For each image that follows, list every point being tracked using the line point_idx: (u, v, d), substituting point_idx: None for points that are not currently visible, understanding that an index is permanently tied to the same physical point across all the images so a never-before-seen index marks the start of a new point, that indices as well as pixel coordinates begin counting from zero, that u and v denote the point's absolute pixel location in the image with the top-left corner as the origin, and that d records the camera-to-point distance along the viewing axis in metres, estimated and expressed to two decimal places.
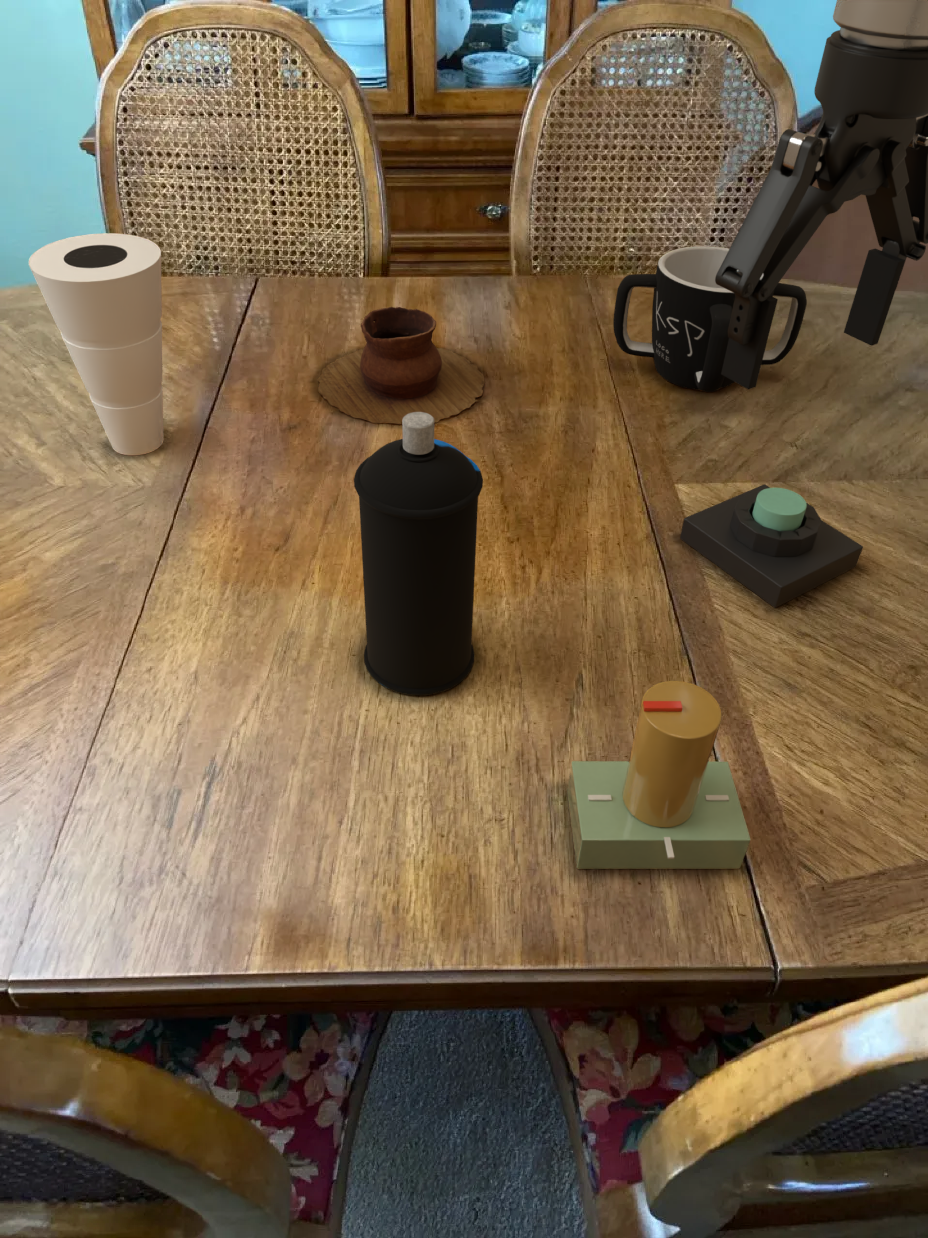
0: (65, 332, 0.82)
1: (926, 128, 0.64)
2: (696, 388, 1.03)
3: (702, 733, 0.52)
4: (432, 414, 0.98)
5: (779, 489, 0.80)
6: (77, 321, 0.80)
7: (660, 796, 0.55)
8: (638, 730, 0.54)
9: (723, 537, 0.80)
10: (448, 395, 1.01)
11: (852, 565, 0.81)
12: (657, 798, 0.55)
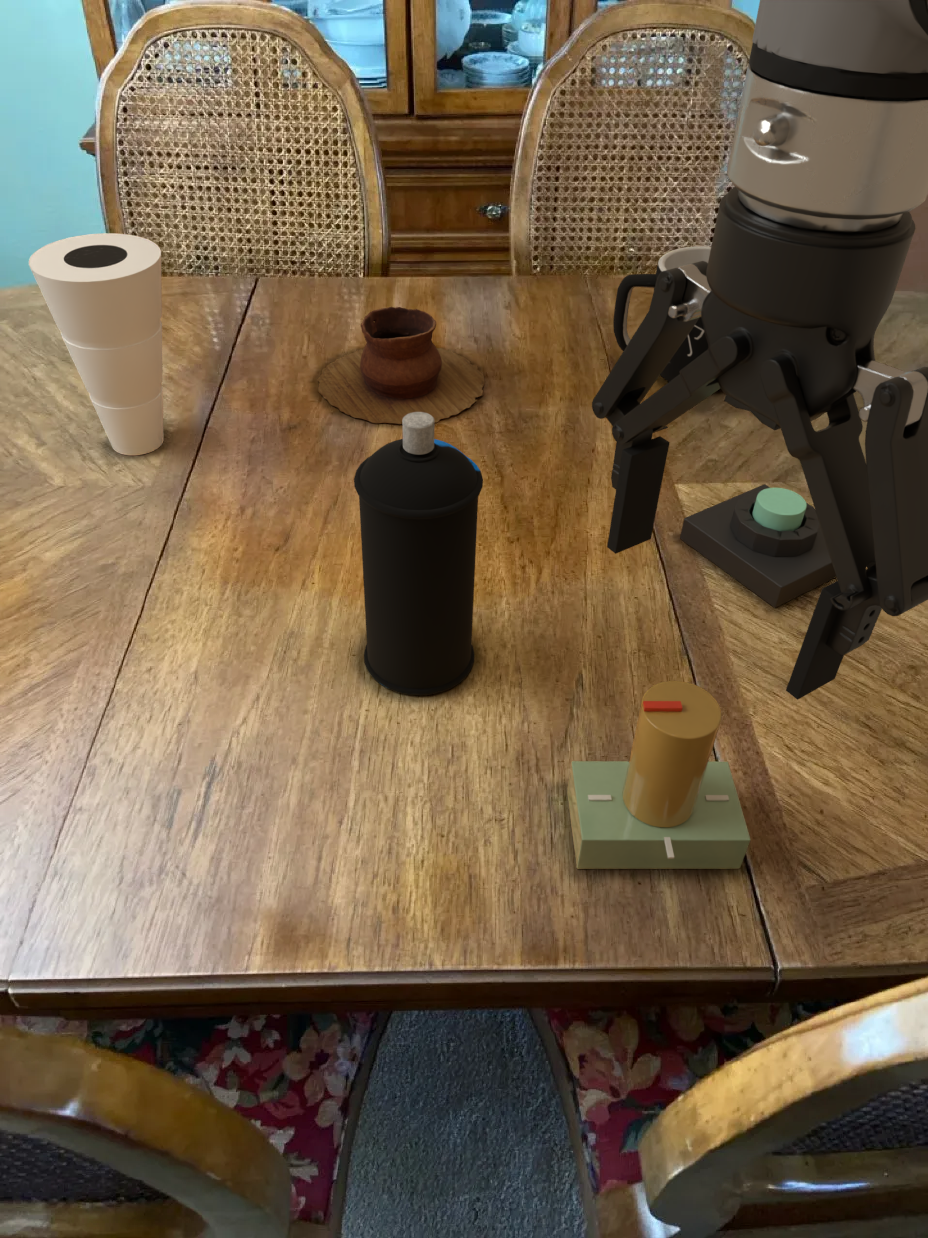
0: (65, 332, 0.82)
1: None
2: None
3: (702, 733, 0.52)
4: (432, 414, 0.98)
5: (779, 489, 0.80)
6: (77, 321, 0.80)
7: (660, 796, 0.55)
8: (638, 730, 0.54)
9: (723, 537, 0.80)
10: (448, 395, 1.01)
11: None
12: (657, 798, 0.55)
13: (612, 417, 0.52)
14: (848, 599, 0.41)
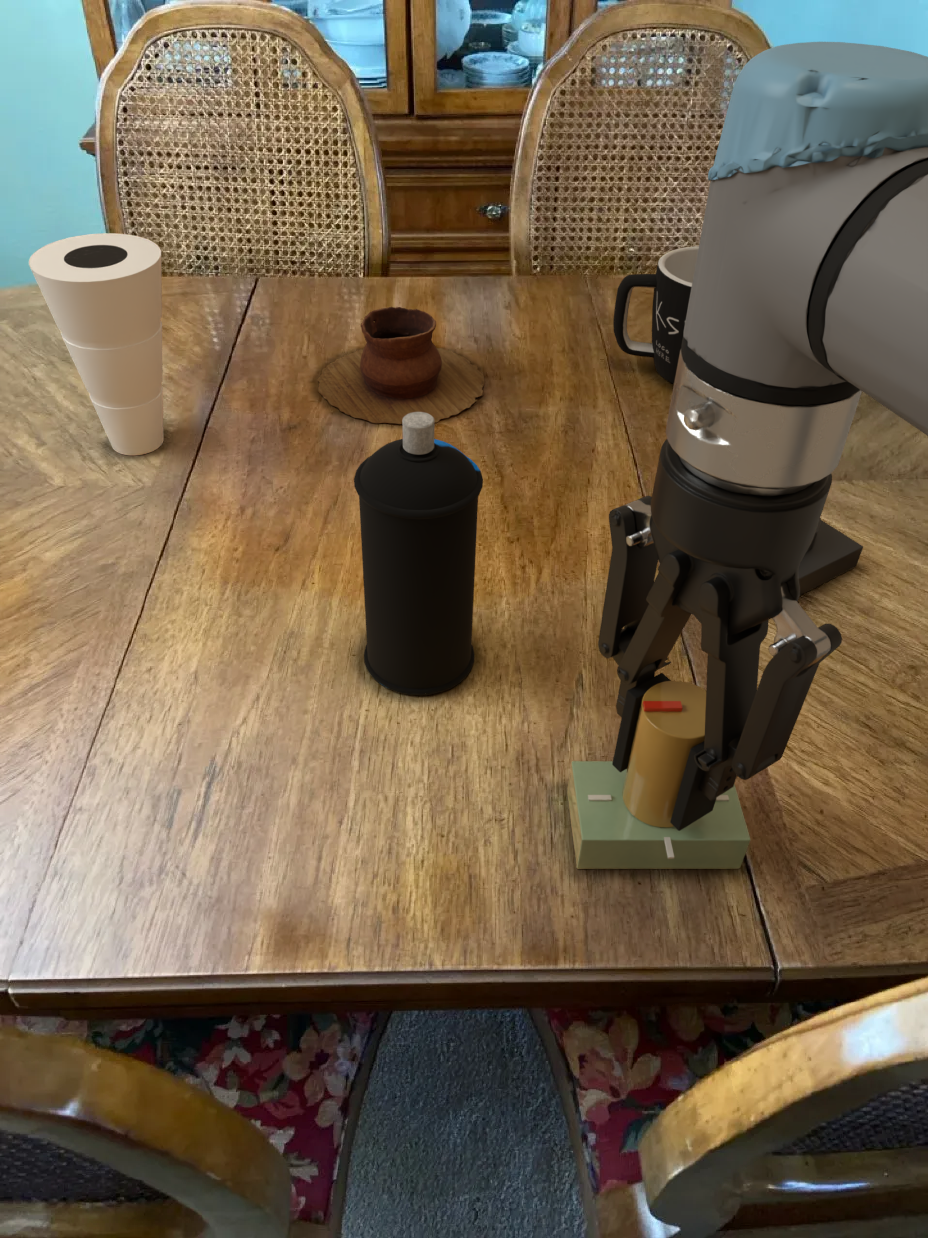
0: (65, 332, 0.82)
1: None
2: None
3: (702, 733, 0.52)
4: (432, 414, 0.98)
5: None
6: (77, 322, 0.80)
7: (660, 796, 0.55)
8: (638, 730, 0.54)
9: None
10: (448, 395, 1.01)
11: (852, 565, 0.81)
12: (657, 798, 0.55)
13: (617, 657, 0.56)
14: (707, 765, 0.50)
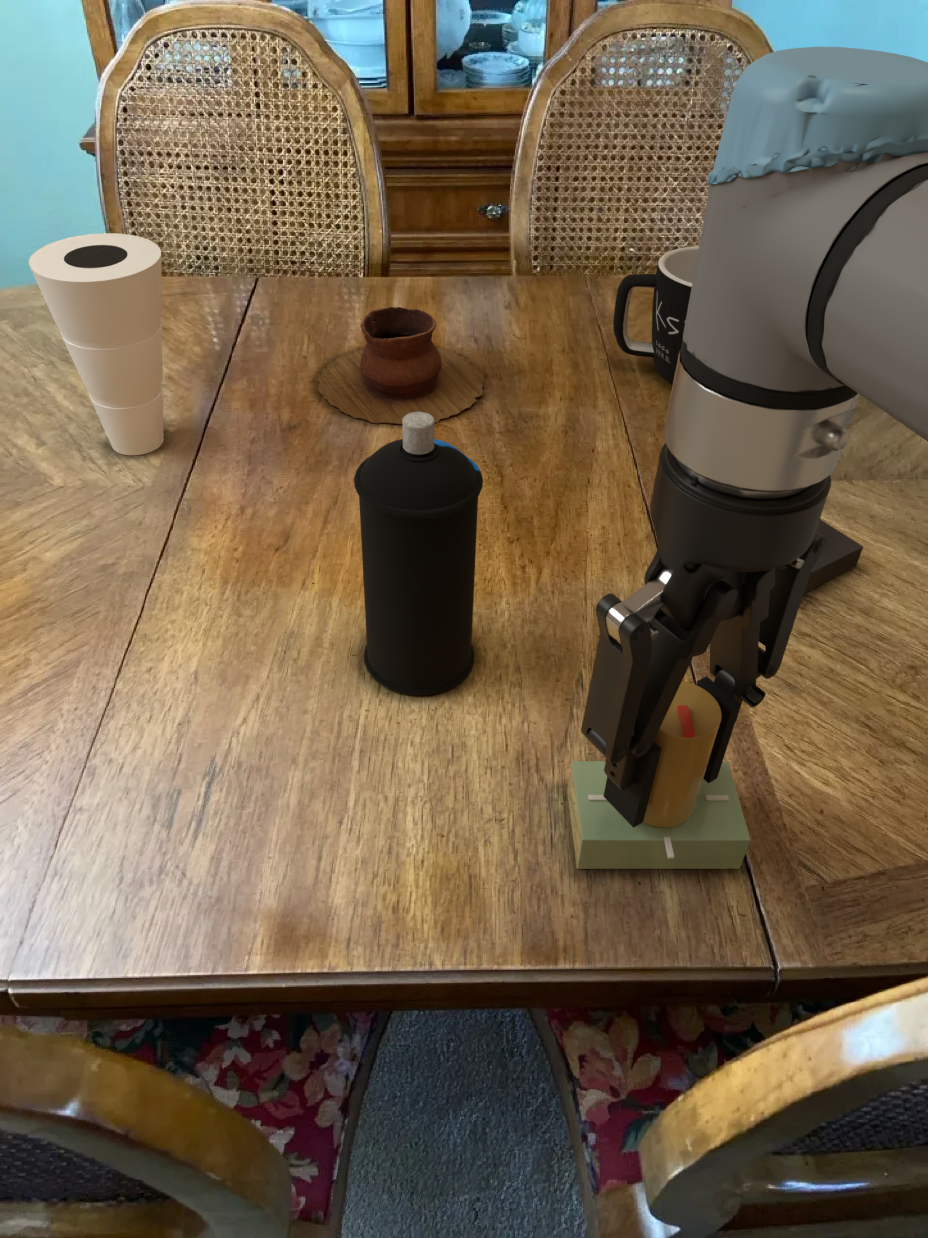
0: (65, 332, 0.82)
1: None
2: None
3: (712, 698, 0.54)
4: (432, 414, 0.98)
5: None
6: (77, 322, 0.80)
7: (703, 777, 0.56)
8: (686, 758, 0.53)
9: None
10: (448, 395, 1.01)
11: (852, 565, 0.81)
12: None
13: None
14: (761, 696, 0.54)
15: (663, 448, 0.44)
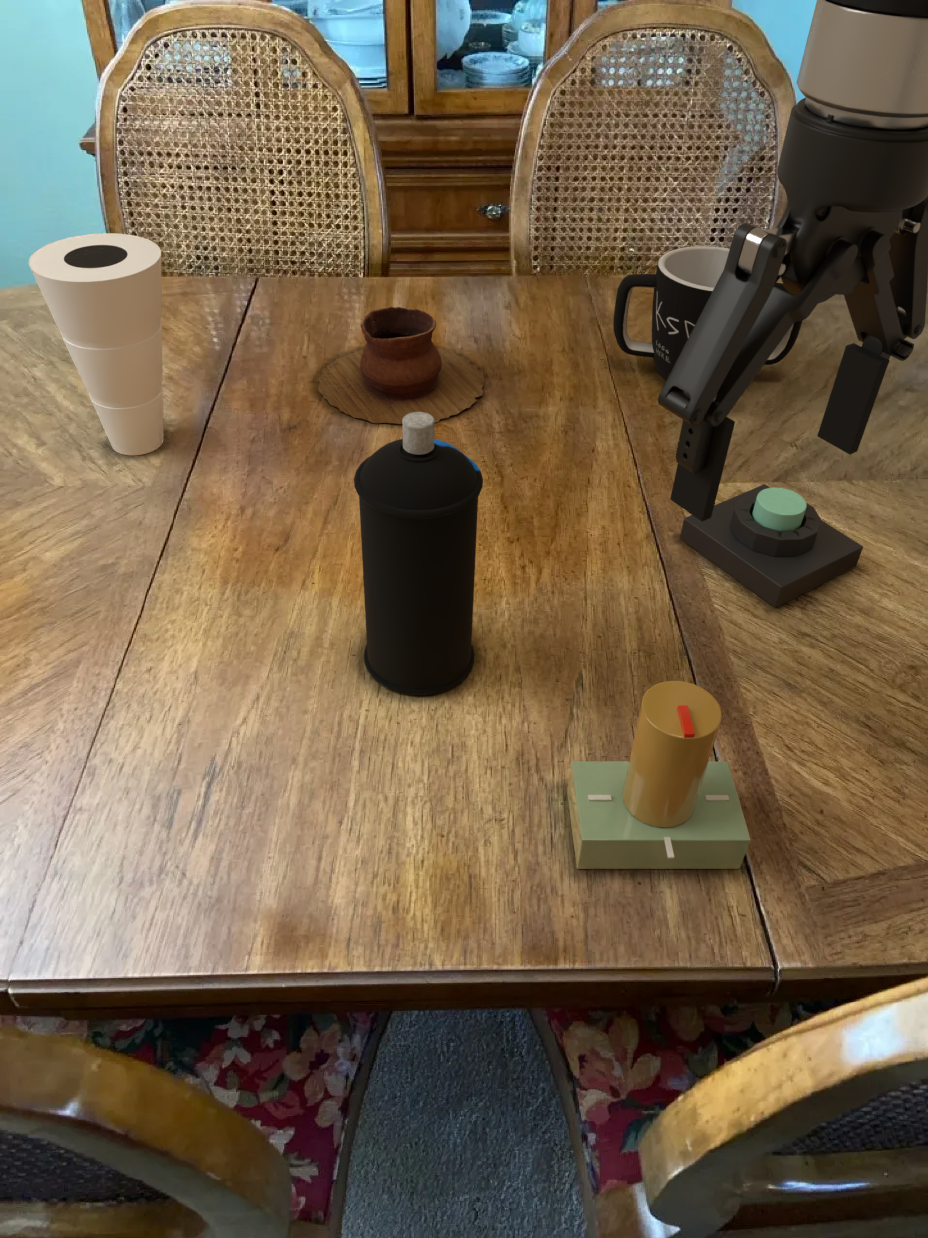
0: (65, 332, 0.82)
1: None
2: None
3: (712, 698, 0.54)
4: (432, 414, 0.98)
5: (779, 489, 0.80)
6: (77, 322, 0.80)
7: (703, 777, 0.56)
8: (686, 758, 0.53)
9: (723, 537, 0.80)
10: (448, 395, 1.01)
11: (852, 565, 0.81)
12: None
13: None
14: (910, 348, 0.58)
15: (793, 109, 0.48)
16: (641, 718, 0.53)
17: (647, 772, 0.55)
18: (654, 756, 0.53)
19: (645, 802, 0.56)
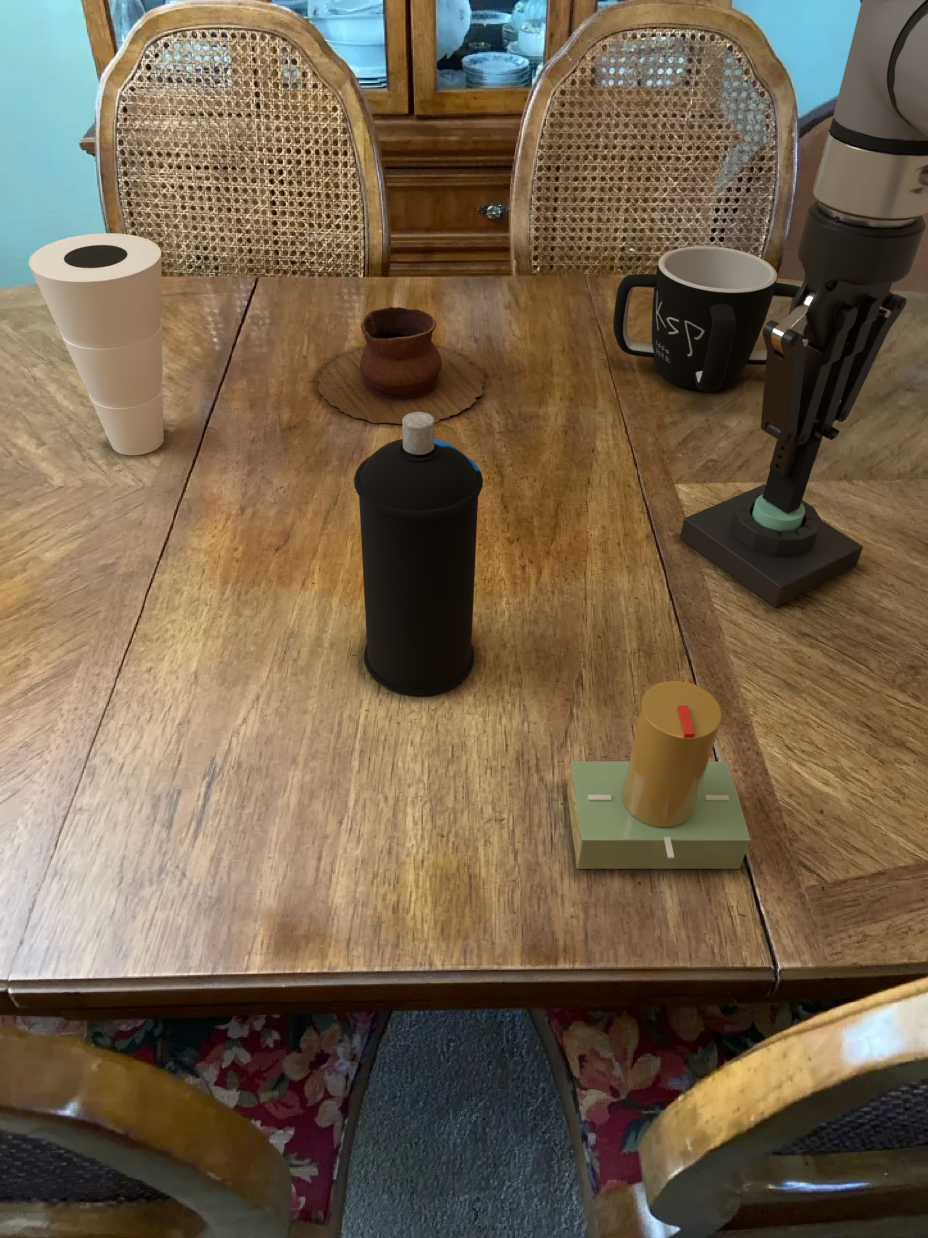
0: (65, 332, 0.82)
1: None
2: (696, 388, 1.03)
3: (712, 698, 0.54)
4: (432, 414, 0.98)
5: None
6: (77, 322, 0.80)
7: (703, 777, 0.56)
8: (686, 758, 0.53)
9: (723, 537, 0.80)
10: (448, 395, 1.01)
11: (852, 565, 0.81)
12: None
13: None
14: (836, 433, 0.74)
15: (809, 208, 0.65)
16: (641, 718, 0.53)
17: (647, 772, 0.55)
18: (654, 756, 0.53)
19: (645, 802, 0.56)
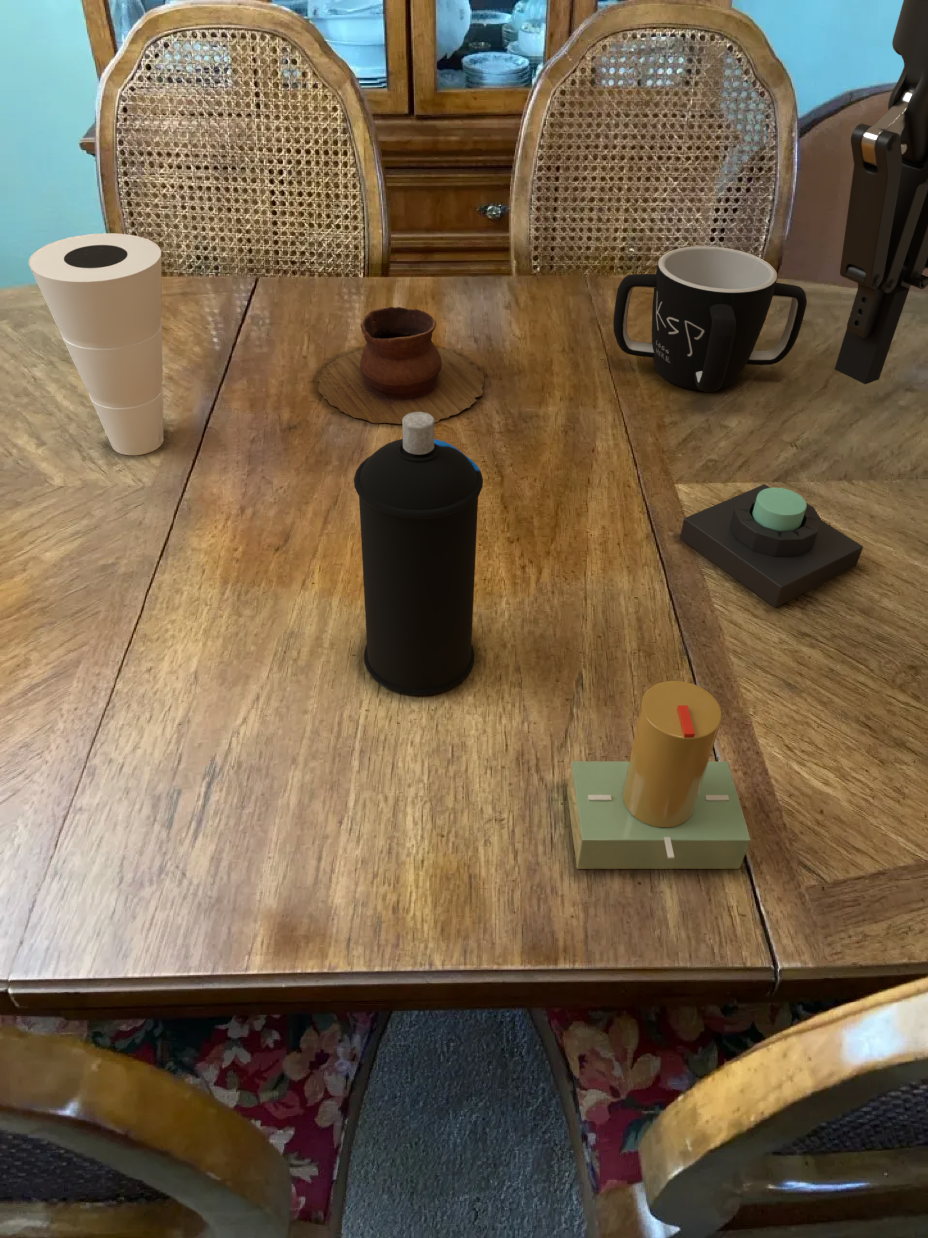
0: (65, 332, 0.82)
1: None
2: (696, 388, 1.03)
3: (712, 698, 0.54)
4: (432, 414, 0.98)
5: (779, 489, 0.80)
6: (77, 322, 0.80)
7: (703, 777, 0.56)
8: (686, 758, 0.53)
9: (723, 537, 0.80)
10: (448, 395, 1.01)
11: (852, 565, 0.81)
12: None
13: None
14: (927, 280, 0.63)
15: None
16: (641, 718, 0.53)
17: (647, 772, 0.55)
18: (654, 756, 0.53)
19: (645, 802, 0.56)
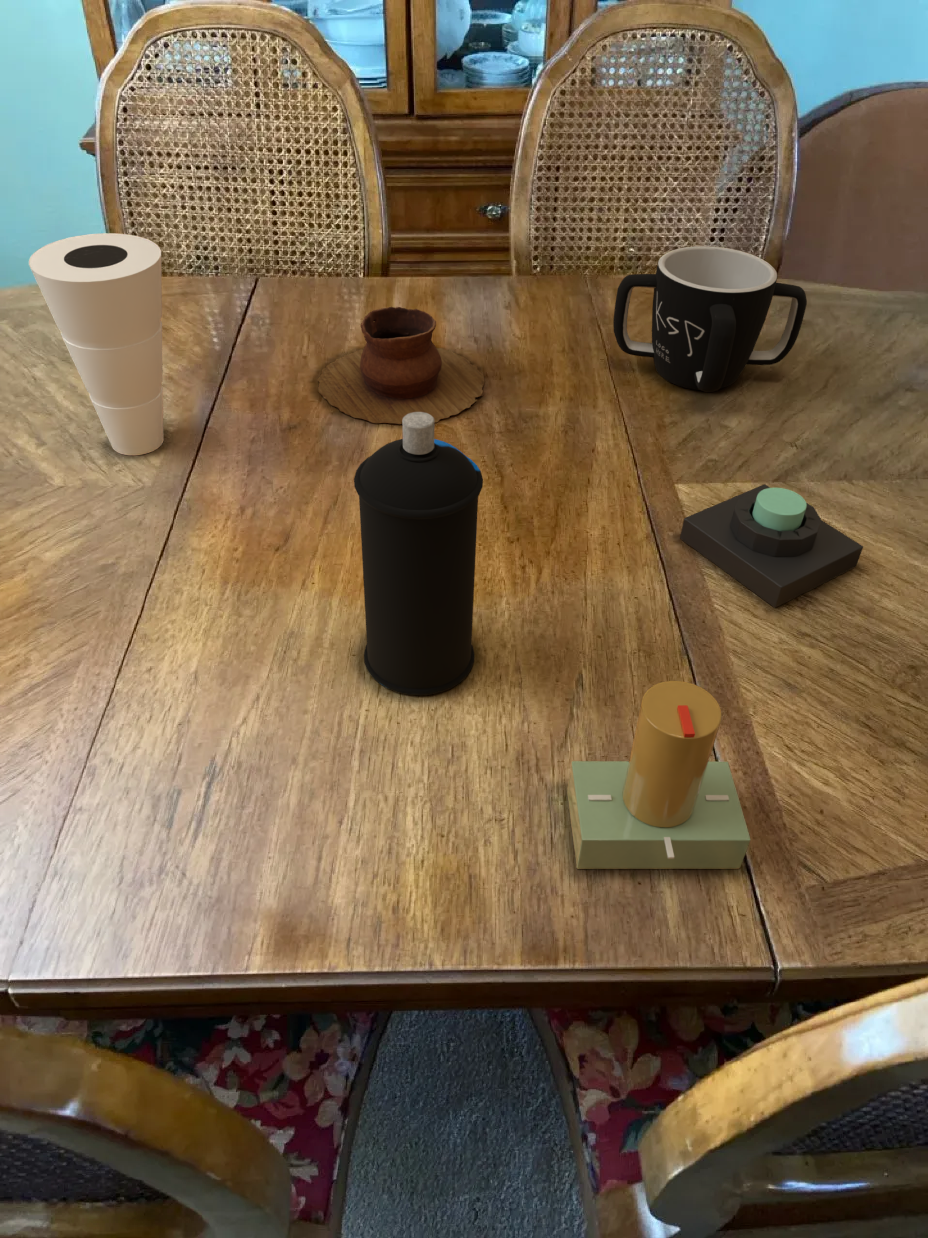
0: (65, 332, 0.82)
1: None
2: (696, 388, 1.03)
3: (712, 698, 0.54)
4: (432, 414, 0.98)
5: (779, 489, 0.80)
6: (77, 322, 0.80)
7: (703, 777, 0.56)
8: (686, 758, 0.53)
9: (723, 537, 0.80)
10: (448, 395, 1.01)
11: (852, 565, 0.81)
12: None
13: None
14: None
15: None
16: (641, 718, 0.53)
17: (647, 772, 0.55)
18: (654, 756, 0.53)
19: (645, 802, 0.56)
